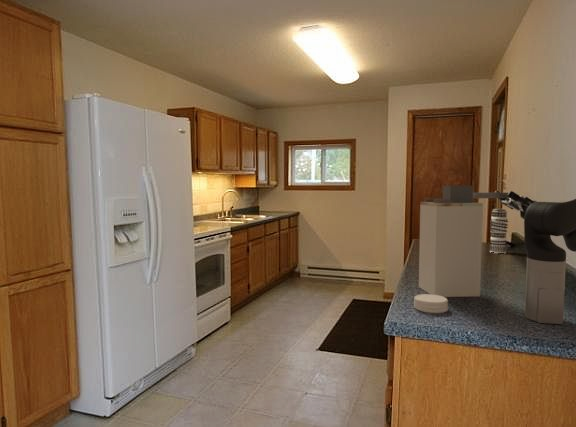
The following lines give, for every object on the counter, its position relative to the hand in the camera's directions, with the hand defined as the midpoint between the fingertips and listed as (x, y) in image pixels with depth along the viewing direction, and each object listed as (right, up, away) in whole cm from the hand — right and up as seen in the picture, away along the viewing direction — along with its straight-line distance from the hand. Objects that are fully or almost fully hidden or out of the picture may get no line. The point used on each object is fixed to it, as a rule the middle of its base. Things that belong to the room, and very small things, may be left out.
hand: (501, 193), depth 141 cm
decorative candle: (+44, -30, +85) cm, 100 cm away
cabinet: (-19, -35, +1) cm, 40 cm away
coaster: (-32, -37, -18) cm, 52 cm away
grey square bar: (-8, -3, 0) cm, 9 cm away
